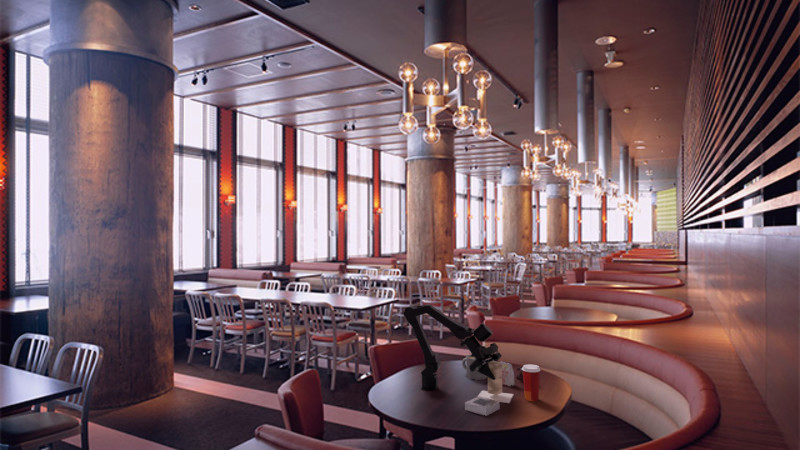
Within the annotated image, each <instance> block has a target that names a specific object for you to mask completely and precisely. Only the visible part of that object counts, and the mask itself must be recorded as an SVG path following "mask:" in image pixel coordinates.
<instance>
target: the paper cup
mask: <svg viewBox="0 0 800 450" xmlns="http://www.w3.org/2000/svg"><path fill="white" fill-rule="evenodd" d="M521 367H522V370H523V380H524V381H523V388H524V389H523V391H524V393H523V394H524V399H525V401H528V402H537V401H539V396H540V375H541V374H540V372H541V369H540V366H539V365H536V364H524V365H523V366H521Z"/></svg>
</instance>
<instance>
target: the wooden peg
mask: <svg viewBox="0 0 800 450" xmlns="http://www.w3.org/2000/svg"><path fill="white" fill-rule="evenodd" d="M501 362H502V361H501ZM501 362H500V361H498V362H496V361H491V362H489V363H488V366H489V369H490V370H491V372H492V373H493V375H494V377H495V380H492V379H491V378H489V377H487V391H488V393H490V394H494V395H498V394H500V393H503V384H502V363H501Z"/></svg>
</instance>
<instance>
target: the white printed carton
mask: <svg viewBox="0 0 800 450" xmlns="http://www.w3.org/2000/svg"><path fill="white" fill-rule="evenodd" d="M499 362H501V363H502V386H506V385H507V387H512V386H515V371H514V369H513V365H512V364H511V363H509V362H504V361H499ZM511 385H512V386H511Z"/></svg>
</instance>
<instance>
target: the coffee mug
mask: <svg viewBox="0 0 800 450" xmlns="http://www.w3.org/2000/svg"><path fill="white" fill-rule="evenodd" d="M475 360H476V359H475V358H474V357H471V354H467V355H466V357H465V358H463V359H462V363H461V364H462V365H461V366H462V368H463V369H464V370H465V371H466V378H467V379H469V380H472V379H475V380H474V381H482V379H483V380H486V379H488V377H487V376H485V375H484V374H482V373H480V372H477V370H479V369H478V367H477V368H476V371H474V372H471V371H470V369H469V366H470V365H471V364H472V363H473V362H474V361H475ZM485 378H486V379H485Z"/></svg>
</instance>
